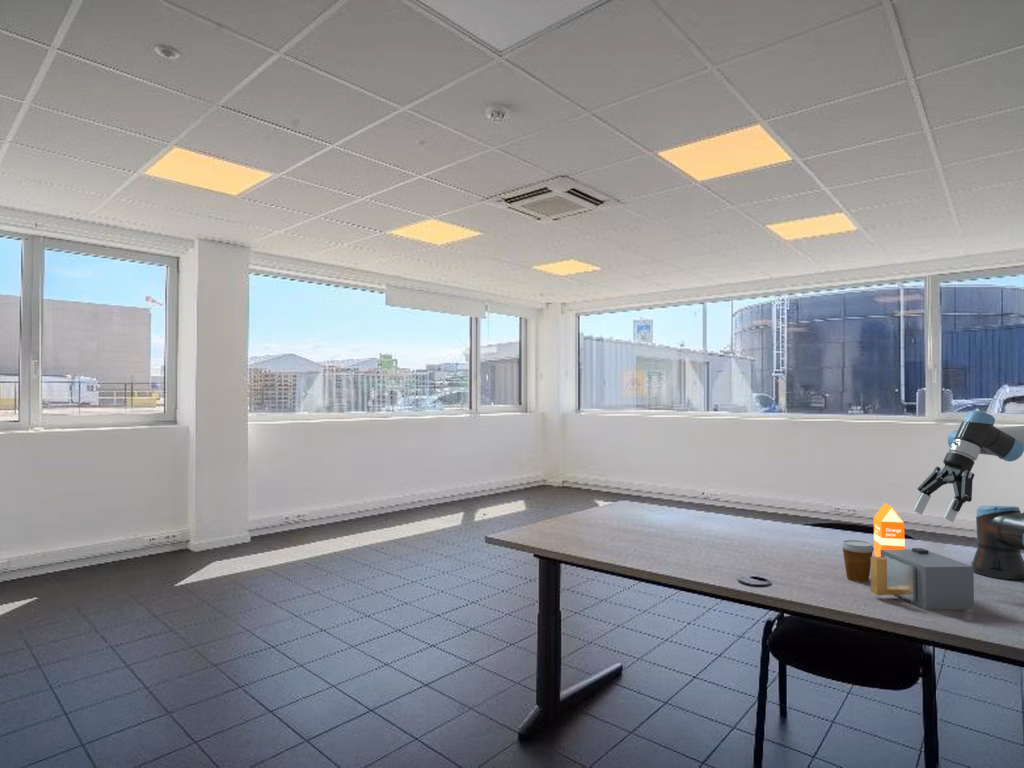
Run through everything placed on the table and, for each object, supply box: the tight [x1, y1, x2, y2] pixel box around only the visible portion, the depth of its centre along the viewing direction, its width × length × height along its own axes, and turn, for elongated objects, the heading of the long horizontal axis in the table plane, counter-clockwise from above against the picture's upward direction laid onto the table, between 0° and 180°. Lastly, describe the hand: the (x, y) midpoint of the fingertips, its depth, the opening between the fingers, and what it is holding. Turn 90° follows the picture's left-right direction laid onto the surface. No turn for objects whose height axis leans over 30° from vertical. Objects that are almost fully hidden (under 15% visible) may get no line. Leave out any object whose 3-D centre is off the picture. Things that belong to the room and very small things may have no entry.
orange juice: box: [872, 503, 906, 557], centre depth 227 cm, size 8×9×20 cm
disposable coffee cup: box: [840, 539, 874, 583], centre depth 201 cm, size 10×10×12 cm
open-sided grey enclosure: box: [880, 547, 975, 611], centre depth 182 cm, size 14×20×13 cm
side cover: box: [870, 556, 916, 602], centre depth 182 cm, size 8×13×11 cm, turn 1°
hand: (932, 516), depth 192 cm, fingers open, 13 cm apart
